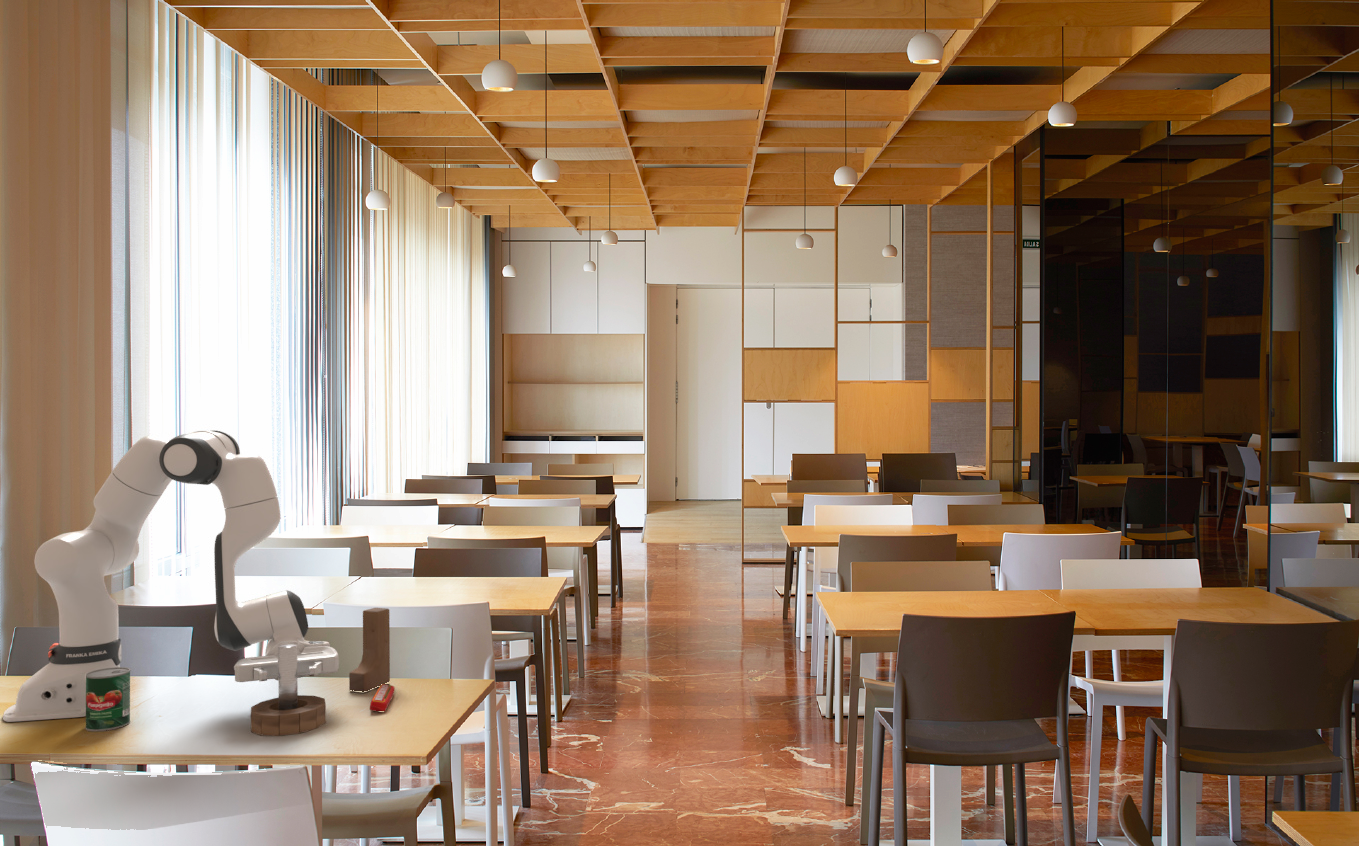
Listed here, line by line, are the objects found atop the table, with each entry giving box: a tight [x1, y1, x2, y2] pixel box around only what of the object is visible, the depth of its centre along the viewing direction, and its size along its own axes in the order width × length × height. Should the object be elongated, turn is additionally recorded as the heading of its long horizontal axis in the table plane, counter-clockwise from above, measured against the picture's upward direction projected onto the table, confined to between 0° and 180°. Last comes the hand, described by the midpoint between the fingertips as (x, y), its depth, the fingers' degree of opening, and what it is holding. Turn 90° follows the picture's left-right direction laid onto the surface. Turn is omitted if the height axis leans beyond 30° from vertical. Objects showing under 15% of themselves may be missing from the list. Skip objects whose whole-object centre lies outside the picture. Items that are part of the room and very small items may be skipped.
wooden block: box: [348, 607, 391, 692], centre depth 217 cm, size 9×4×18 cm, turn 157°
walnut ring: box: [250, 694, 327, 737], centre depth 189 cm, size 14×14×4 cm
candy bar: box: [369, 684, 395, 712], centre depth 204 cm, size 16×4×3 cm, turn 10°
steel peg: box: [277, 645, 299, 710], centre depth 189 cm, size 4×4×16 cm
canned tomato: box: [84, 666, 131, 732], centre depth 190 cm, size 8×8×11 cm
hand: (288, 674), depth 189 cm, fingers open, 8 cm apart
